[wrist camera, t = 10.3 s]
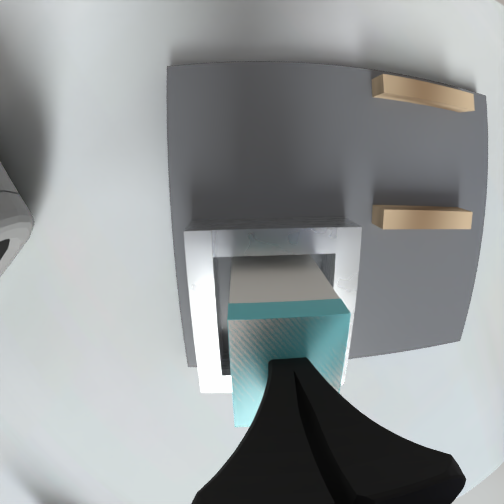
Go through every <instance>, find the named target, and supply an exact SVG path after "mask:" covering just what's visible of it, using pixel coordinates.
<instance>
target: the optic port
mask: <svg viewBox="0 0 504 504" xmlns="http://www.w3.org/2000/svg"><path fill="white" fill-rule="evenodd" d="M361 234H362V227H361V226H359V225H358V224H356V223H354V222H353V221H351V220H350V219H348V218H346V217H288V218H245V219H214V220H192V221H191V222H190V223H189V225H188V226H187V228H186V229H185V230H184V243H185V256H186V268H187V279H188V289H189V299H190V309H191V318H192V327H193V335H194V343H195V351H196V359H197V367H198V374H199V381H200V388H201V393H232V384H231V370H230V355H229V350H223V339H222V326H221V311H220V296H219V280H218V262H217V257H238V256H271V255H303V254H322V266H321V271H322V273H323V274H324V276H325V277H326V278H327V280H328V281H329V283H330V284H331V286H332V287H333V289H334V290H335V292H336V293H337V295H338V296H339V298H341V299H342V301H343V302H344V304H345V305H346V307H347V308H348V310H349V311H350V313H351V316H350V325H349V332H348V340H347V347H346V354H345V361H344V367H343V373H342V379H341V385H344V380H345V375H346V369H347V362H348V356H349V349H350V342H351V335H352V328H353V320H354V312H355V303H356V294H357V284H358V274H359V262H360V249H361Z"/></svg>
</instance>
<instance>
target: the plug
mask: <svg viewBox="0 0 504 504" xmlns="http://www.w3.org/2000/svg"><path fill="white" fill-rule="evenodd" d="M350 316H351V313H350V311H349V310H348V308H347V307H346V305H345V304H344V302H343V301H342V299H341V298H339V296H338V295H337V293H336V292H335V290H334V289H333V287H332V286H331V284H330V283H329V281H328V280H327V278H326V277H325V276H324V274H323V273H322V271H321V270H320V268H319V267H318V265H317V264H316V262H315V261H314V259H313V258H312V257H311V255H310V254H303V255H271V256H238V257H232V267H231V281H230V296H229V303H228V316H227V323H228V340H229V355H230V370H231V384H232V398H233V411H234V423H235V427H250V425H251V423H252V421H253V419H254V417H255V415H256V413H257V410H258V408H259V405H260V403H261V400H262V397H263V394H264V391H265V387H266V384H267V379H268V362H269V361H270V360H272V359H288V358H303V357H306V358H308V359H309V360H310V362H311V363H312V364H313V365H314V367H315V368H316V369H317V370H318V371H319V373H320V374H321V375H322V376H323V377H324V378H325V379H326V380H327V382H328V383H329V384H330V385H331V386H332V387H333V388H334V389H335V390H336V391H337V392H338V393H339V391H340V385H341V379H342V373H343V367H344V361H345V354H346V347H347V340H348V332H349V325H350Z"/></svg>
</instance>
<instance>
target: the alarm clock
mask: <svg viewBox="0 0 504 504" xmlns="http://www.w3.org/2000/svg"><path fill="white" fill-rule="evenodd" d="M33 226H34V219H33V216H32V214H31V212H30V210H29V209H28V207H27V206H26V204H25V202H24V201H23V199H22V198H21V196H20V195H19V193H18V191H17V189H16V188H15V186H14V184H13V183H12V181H11V179H10V178H9V176H8V174H7V172H6V171H5V169H4V167H3V165H2V164H1V162H0V277H1V275H2V274H3V273H4V271H5V270H6V269H7V267H8V266H9V265H10V264H11V262H12V261H13V259H14V258H15V257H16V255H17V254H18V252H19V251H20V250H21V248H22V247H23V246H24V244H25V243H26V242H27V240H28V239H29V238H30V235H31V232H32V229H33Z"/></svg>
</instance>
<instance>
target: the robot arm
mask: <svg viewBox="0 0 504 504" xmlns="http://www.w3.org/2000/svg"><path fill="white" fill-rule="evenodd" d="M465 482H466V478H465V476H464V474H463V473H462V471H461V469H460V467H459V465H458V464H457V462H456V461H455V459H454V458H453V457H452V455H450V454H447V453H443V452H440V451H436V450H433V449H430V448H427V447H424V446H421V445H419V444H416V443H414V442H411V441H409V440H407V439H405V438H402V437H400V436H398V435H396V434H394V433H393V432H391V431H389V430H387V429H385V428H384V427H382V426H380V425H379V424H377V423H375V422H374V421H372V420H371V419H369V418H368V417H367V416H365V415H364V414H362V413H361V412H360V411H359V410H357V409H356V408H355V407H354V406H352V405H351V404H350V403H349V402H348V401H347V400H346V399H344V398H343V397H342V396H341V395H340V394H339V393H338V392H337V391H336V390H335V389H334V388H333V387H332V386H331V385H330V384H329V383H328V382H327V380H326V379H325V378H324V377H323V376H322V375H321V374H320V373H319V371H318V370H317V369H316V368H315V367H314V365H313V364H312V363H311V362H310V360H309V359H308V358H306V357H303V358H288V359H272V360H270V361H269V362H268V379H267V384H266V387H265V391H264V394H263V397H262V400H261V403H260V405H259V408H258V410H257V413H256V415H255V417H254V419H253V421H252V423H251V425H250V427H249V429H248V431H247V433H246V434H245V436H244V438H243V439H242V441H241V442H240V444H239V445H238V447H237V448H236V450H235V451H234V453H233V454H232V455H231V457H230V458H229V459H228V460H227V462H226V463H225V464H224V465H223V467H222V468H221V469H220V470H219V471H218V472H217V474H216V475H215V476H214V477H213V478H212V479H211V480H210V481H209V482H208V483H207V484H206V485H205V486H204V487H203V488H202V489H200V490H199V491H198V492H197V494H196V496H195V497H194V500H193V502H192V504H451V503H452V502H453V501H454V500H455V498H456V497H457V496H458V495H459V493H460V492H461V491H462V489H463V487H464V485H465Z"/></svg>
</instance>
